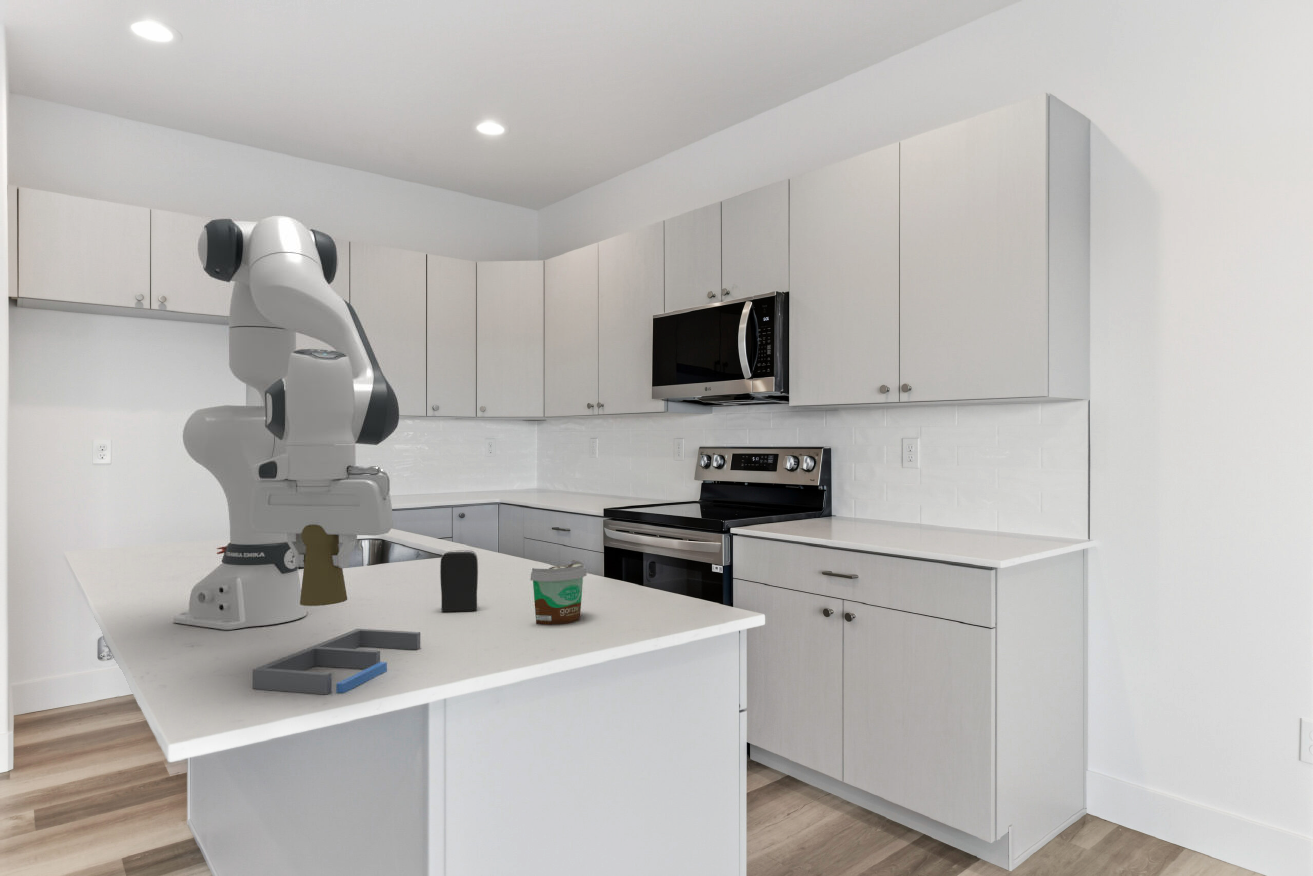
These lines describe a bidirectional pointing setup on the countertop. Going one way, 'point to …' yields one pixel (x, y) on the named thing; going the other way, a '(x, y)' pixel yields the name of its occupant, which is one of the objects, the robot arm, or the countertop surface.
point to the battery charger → (459, 581)
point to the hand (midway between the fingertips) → (322, 567)
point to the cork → (321, 569)
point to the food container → (558, 593)
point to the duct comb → (333, 662)
